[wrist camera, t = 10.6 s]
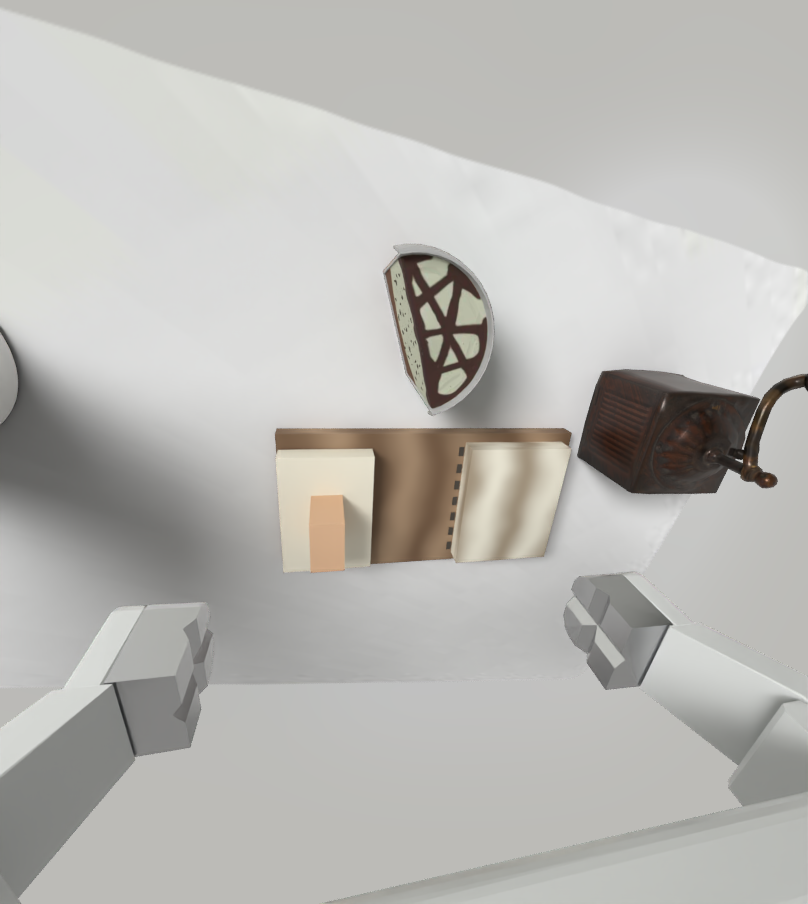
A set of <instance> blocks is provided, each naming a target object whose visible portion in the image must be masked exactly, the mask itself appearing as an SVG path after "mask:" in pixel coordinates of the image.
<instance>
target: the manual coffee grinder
mask: <svg viewBox="0 0 808 904" xmlns="http://www.w3.org/2000/svg"><path fill="white" fill-rule="evenodd" d="M801 387H805V388H806V390H807V391H808V374H800V375H796V376H793V377H790V378H786V379H783V380H782V381H780V382H779V383H777V384H775V385H774V386H773V387H772V388H771V389H770V390H769V391H768V392H767V393H766V394H765V395H764V397H763V399H762V401H761V403H760V405H759V406H758V409H757V410H756V407H757V405H758V403H759V401H760V399H759V398H756V397H753V396H749V395H746V394H742V393H738V392H735V391H731V390H727V389H724V388H720V387H716V386H713V385H709V384H705V383H701V382H698V381H695V380H692V379H689V378H686V377H685V376H683V375H680V374H673V373H667V372H660V371H646V370H629V369H623V370H613V371H602V373H601V375H600V378H599V380H598V382H597V384H596V387H595V390H594V393H593V397H592V400H591V403H590V407H589V410H588V414H587V417H586V421H585V425H584V429H583V433H582V437H581V442H580V446H579V450H578V454H577V456H578V457H579V458H581V459H583V460H584V461H585V462H587V463H588V464H590V465H591V466H593V467H594V468H595V469H597V470H598V471H600V472H601V473H603V474H604V475H605V476H607V477H608V478H610V479H611V480H613V481H614V482H616V483H617V484H619V485H620V486H622V487H623V488H624V489H626V490H627V491H629V492H631V493H641V494H695V493H696V494H697V493H716V492H717V490H718V488H719V486H720V484H721V482H722V480H723V478H724V476H725V474H726V472H727V470H728V469H730V470H732V471H734V472H736V473H738V474H740V475H741V479H742V480H744V481H747V482H755V483H756V484H757V485H759V486H760V487H761V488H771V487H774V486H775V485H776V484H777V482H778V481H777V478H776V476H775V475H773V474H771V473H767V472H763V471H762V469H761V468H760V467H759V466H758V453H759V442H760V439H761V436H762V433H763V430H764V427H765V425H766V422H767V419H768V417H769V414H770V412H771V409H772V407H773V406H774V404H775V402H776V401H777V400H778V399H779V398H780V397H781V396H782V395H783V394H784V393H786V392H788V391H790V390H793V389H797V388H801ZM755 410H756V413H755V416H754V419H753V422H752V425H751V427H750V430H749V433H748V436H747V440H746V443H745V447H744V450H742V446H743V443H744V441H745V431H746V429H747V427H748V425H749V423H750V420H751V418H752V416H753V414H754V412H755ZM735 459H740V460H742V459H743V463H741V462H738V461H736V460H735Z"/></svg>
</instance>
